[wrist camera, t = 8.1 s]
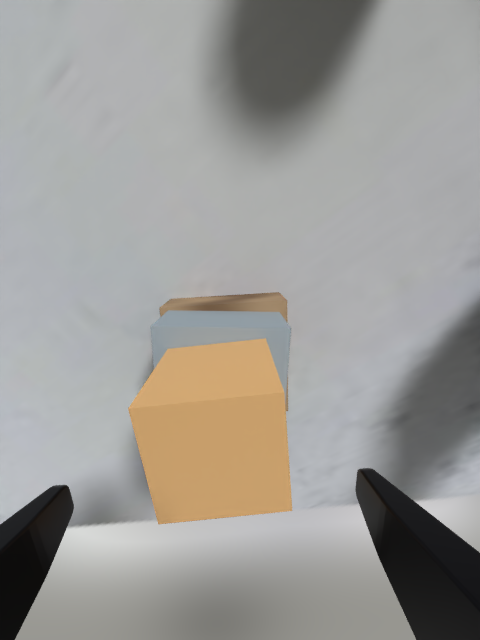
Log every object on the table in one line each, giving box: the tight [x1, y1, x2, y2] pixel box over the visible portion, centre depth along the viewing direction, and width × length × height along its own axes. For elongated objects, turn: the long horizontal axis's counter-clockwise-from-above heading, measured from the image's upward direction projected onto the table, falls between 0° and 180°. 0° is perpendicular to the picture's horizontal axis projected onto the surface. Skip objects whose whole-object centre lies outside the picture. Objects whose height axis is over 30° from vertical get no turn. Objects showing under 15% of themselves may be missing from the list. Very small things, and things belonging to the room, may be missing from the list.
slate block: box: [151, 310, 291, 403], centre depth 15 cm, size 7×7×4 cm
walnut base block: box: [160, 292, 288, 411], centre depth 19 cm, size 8×8×4 cm
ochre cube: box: [128, 338, 292, 524], centre depth 11 cm, size 5×5×5 cm
